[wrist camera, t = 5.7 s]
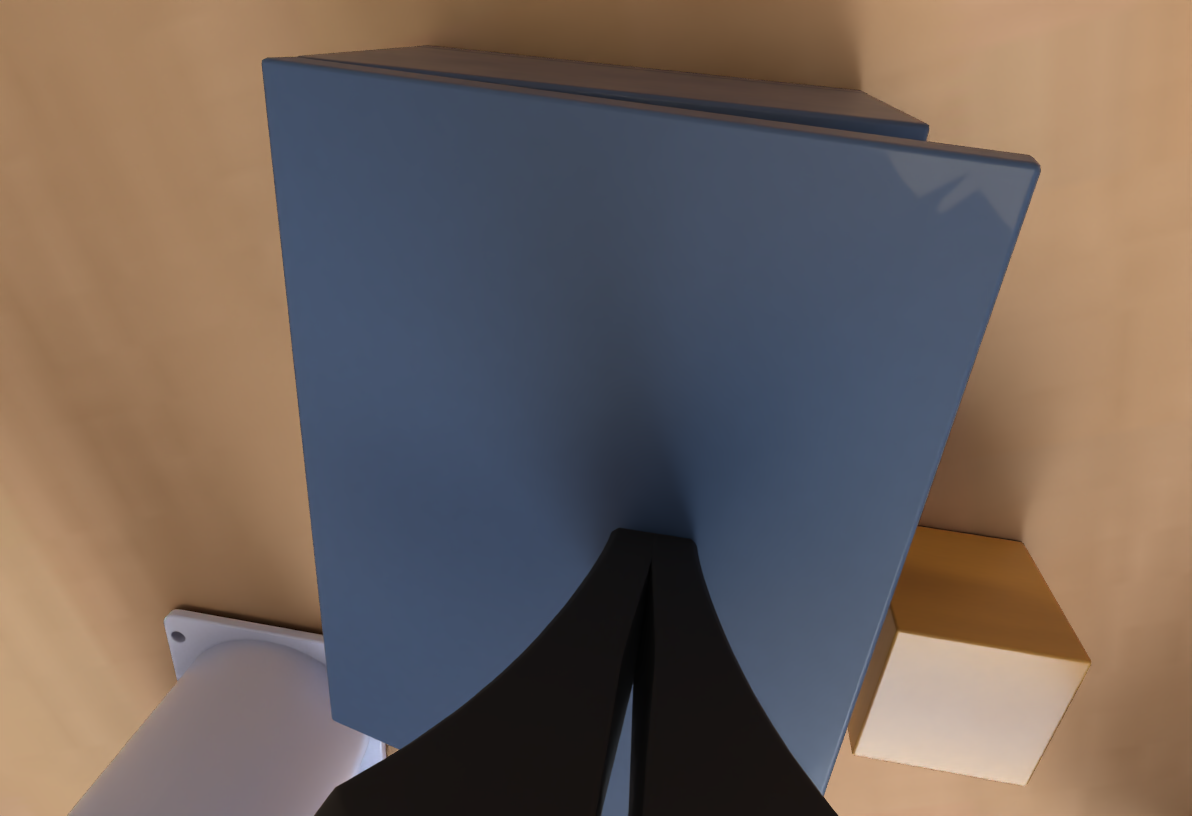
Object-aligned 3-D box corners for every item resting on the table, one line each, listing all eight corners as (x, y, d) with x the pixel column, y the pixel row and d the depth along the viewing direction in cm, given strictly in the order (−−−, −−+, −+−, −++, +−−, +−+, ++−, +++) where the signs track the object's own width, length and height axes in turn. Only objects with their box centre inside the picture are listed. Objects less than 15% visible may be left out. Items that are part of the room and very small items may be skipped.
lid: (1035, 155, 9) (1044, 164, 8) (788, 881, 16) (781, 919, 15) (295, 56, 12) (258, 57, 12) (351, 697, 19) (330, 721, 18)
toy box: (863, 90, 17) (932, 124, 11) (746, 594, 24) (754, 770, 18) (426, 44, 18) (291, 55, 12) (433, 542, 25) (349, 694, 19)
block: (974, 655, 23) (1026, 788, 19) (829, 631, 24) (851, 755, 20) (1023, 541, 21) (1094, 662, 17) (865, 516, 22) (897, 630, 18)
